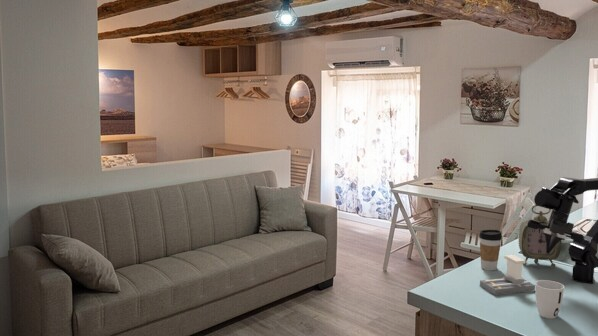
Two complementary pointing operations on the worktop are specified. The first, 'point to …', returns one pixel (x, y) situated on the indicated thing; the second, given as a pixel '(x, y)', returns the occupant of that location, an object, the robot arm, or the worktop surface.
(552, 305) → the cup
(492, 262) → the coffee cup
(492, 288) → the fader console
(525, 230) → the tabletop clock
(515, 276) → the plate
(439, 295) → the worktop surface
